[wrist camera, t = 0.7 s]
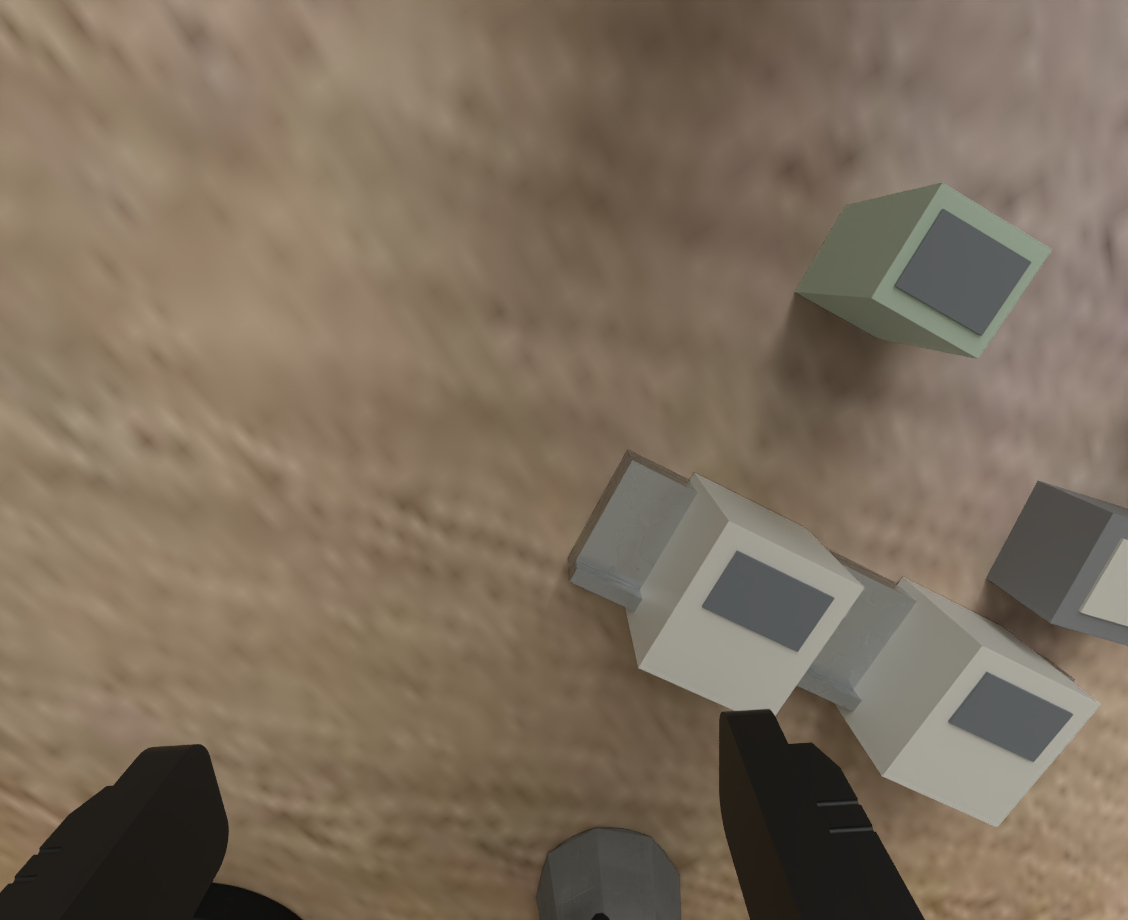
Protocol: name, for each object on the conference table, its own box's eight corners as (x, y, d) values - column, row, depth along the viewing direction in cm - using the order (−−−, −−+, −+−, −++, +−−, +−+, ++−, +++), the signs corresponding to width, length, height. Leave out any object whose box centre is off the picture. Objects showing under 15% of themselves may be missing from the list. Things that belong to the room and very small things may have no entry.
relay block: (1036, 480, 35) (1116, 514, 30) (1133, 510, 36) (1226, 548, 31) (984, 577, 37) (1052, 624, 32) (1078, 604, 37) (1158, 655, 32)
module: (845, 204, 31) (944, 182, 23) (931, 255, 32) (1055, 249, 24) (794, 292, 32) (873, 298, 24) (878, 338, 33) (980, 359, 25)
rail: (627, 449, 34) (634, 466, 31) (1048, 659, 38) (1089, 690, 35) (568, 556, 36) (569, 581, 33) (977, 746, 40) (1011, 784, 37)
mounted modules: (694, 472, 35) (729, 522, 28) (1002, 626, 37) (1104, 706, 31) (622, 594, 36) (638, 669, 30) (920, 732, 39) (999, 830, 32)
